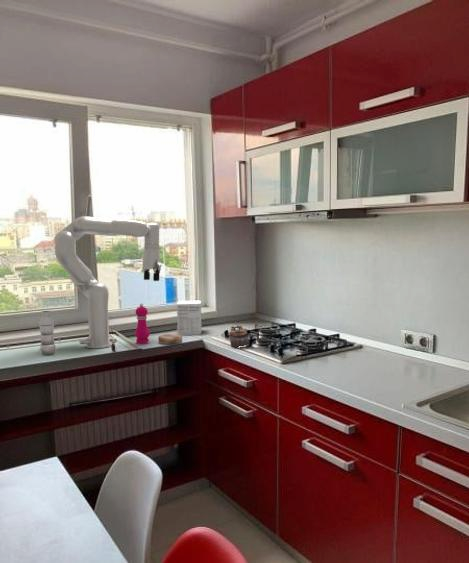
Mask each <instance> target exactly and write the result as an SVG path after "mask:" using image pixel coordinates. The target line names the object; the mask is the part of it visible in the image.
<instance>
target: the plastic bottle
mask: <svg viewBox="0 0 469 563" xmlns="http://www.w3.org/2000/svg"><path fill="white" fill-rule="evenodd" d="M38 326H39V332H40V349H39V350H40V353H41V355H45V356H49V355H54V354H55V352H56V344H55V339H54V329H55V322H54V319H53V318H52V317H51V310H43V311H41V318H40V319H39V321H38Z"/></svg>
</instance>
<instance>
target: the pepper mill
mask: <svg viewBox="0 0 469 563" xmlns="http://www.w3.org/2000/svg"><path fill="white" fill-rule="evenodd" d="M148 310H149V309H148V308H147V307H145V306H144V304H143V303H140V304H139V306H137V308H136V309H135V315H136V320H137V326H136V329H135V333H134V334H135V335H134V336H135V337H136V339H135V340H136V341H135V342H136V344H143V345H144V344H148V343H149V340H150V338H149V337H150V335H151V334H150V329H149V328H148V325H147V319H148V318H147V317H148V316H147V314H148V313H149V312H148Z"/></svg>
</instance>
